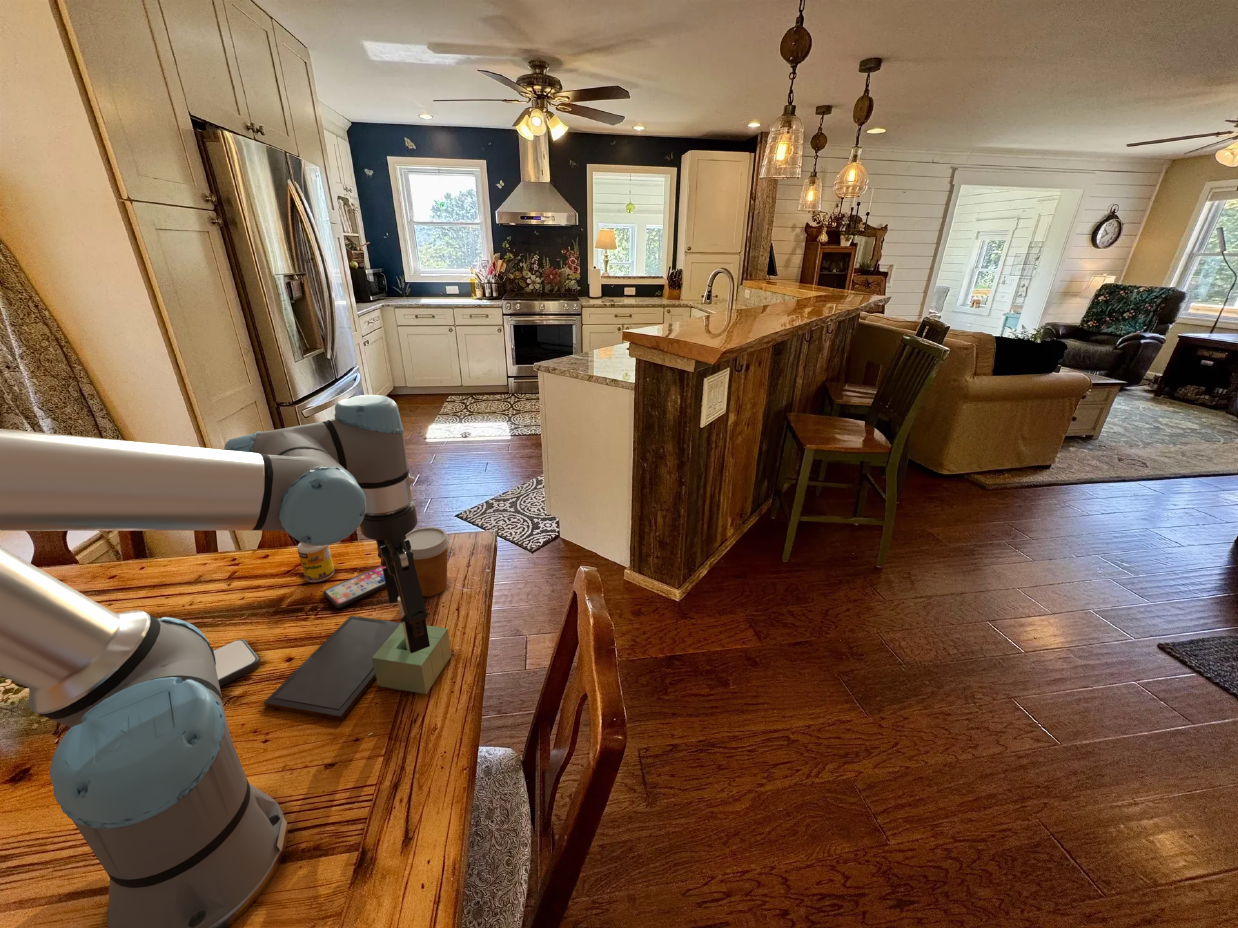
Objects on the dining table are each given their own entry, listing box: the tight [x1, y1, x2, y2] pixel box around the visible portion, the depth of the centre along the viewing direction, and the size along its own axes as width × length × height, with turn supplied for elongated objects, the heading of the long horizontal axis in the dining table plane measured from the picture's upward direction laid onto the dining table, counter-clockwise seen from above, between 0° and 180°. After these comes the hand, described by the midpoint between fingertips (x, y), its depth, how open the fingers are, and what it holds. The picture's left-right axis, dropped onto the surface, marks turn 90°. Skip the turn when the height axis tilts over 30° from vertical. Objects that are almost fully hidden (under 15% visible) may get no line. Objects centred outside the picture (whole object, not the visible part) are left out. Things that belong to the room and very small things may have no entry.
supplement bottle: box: [296, 541, 335, 583], centre depth 103 cm, size 6×6×10 cm
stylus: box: [397, 596, 410, 651], centre depth 79 cm, size 2×2×15 cm
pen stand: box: [372, 622, 452, 695], centre depth 81 cm, size 8×8×6 cm
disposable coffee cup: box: [406, 526, 450, 597], centre depth 100 cm, size 10×10×12 cm
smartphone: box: [323, 564, 386, 609], centre depth 102 cm, size 8×1×15 cm
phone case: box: [213, 638, 261, 688], centre depth 79 cm, size 9×2×16 cm
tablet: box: [263, 615, 401, 722], centre depth 83 cm, size 20×13×1 cm, turn 170°
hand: (408, 622), depth 78 cm, fingers open, 13 cm apart
